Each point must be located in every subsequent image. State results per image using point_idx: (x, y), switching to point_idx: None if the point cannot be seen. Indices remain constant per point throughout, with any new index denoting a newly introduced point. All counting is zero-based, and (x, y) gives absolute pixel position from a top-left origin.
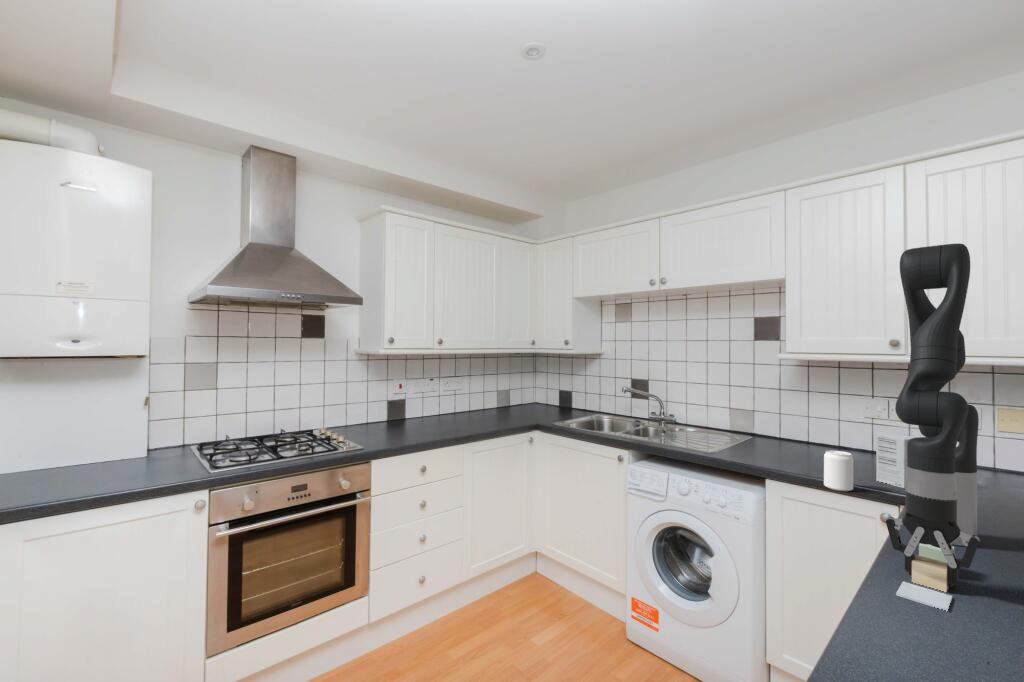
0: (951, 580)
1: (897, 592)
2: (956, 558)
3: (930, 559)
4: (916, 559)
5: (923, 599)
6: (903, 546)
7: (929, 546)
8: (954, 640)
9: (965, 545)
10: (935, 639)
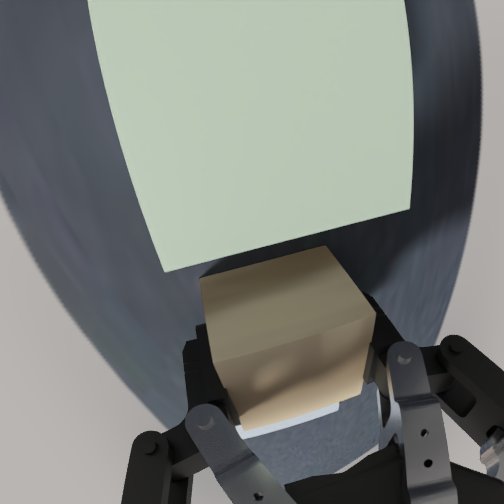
0: None
1: (242, 436)
2: (423, 369)
3: (292, 354)
4: (245, 404)
5: (292, 419)
6: (201, 469)
7: (241, 206)
8: (345, 443)
9: (484, 443)
10: (325, 456)
